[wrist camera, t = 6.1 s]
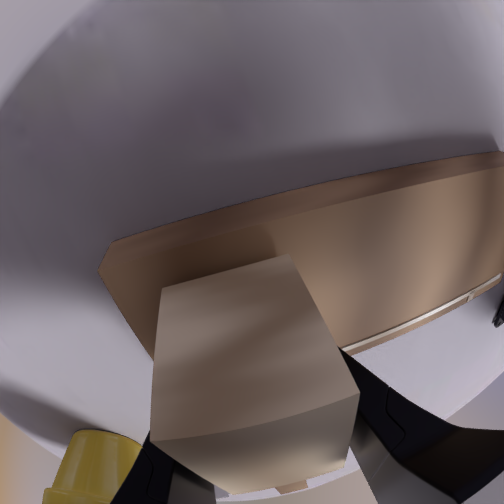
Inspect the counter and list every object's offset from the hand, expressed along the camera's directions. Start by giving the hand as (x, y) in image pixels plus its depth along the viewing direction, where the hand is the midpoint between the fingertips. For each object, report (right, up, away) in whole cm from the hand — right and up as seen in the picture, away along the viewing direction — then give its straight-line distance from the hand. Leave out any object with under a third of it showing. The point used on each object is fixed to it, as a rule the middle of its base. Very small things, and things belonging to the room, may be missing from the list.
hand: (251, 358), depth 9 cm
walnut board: (+5, +3, +3) cm, 7 cm away
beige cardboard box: (0, -1, +2) cm, 2 cm away
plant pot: (-12, -13, +9) cm, 20 cm away
